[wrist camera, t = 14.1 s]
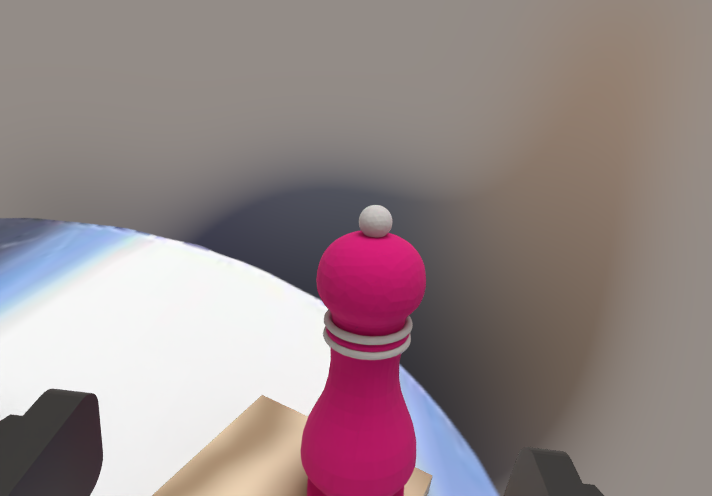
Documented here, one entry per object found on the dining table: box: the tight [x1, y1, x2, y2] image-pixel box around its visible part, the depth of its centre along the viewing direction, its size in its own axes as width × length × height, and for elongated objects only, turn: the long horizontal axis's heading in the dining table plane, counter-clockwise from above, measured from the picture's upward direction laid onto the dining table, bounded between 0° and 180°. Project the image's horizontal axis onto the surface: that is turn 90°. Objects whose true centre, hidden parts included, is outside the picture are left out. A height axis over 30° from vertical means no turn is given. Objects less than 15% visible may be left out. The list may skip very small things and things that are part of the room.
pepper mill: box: [300, 205, 426, 496], centre depth 29 cm, size 7×7×20 cm
